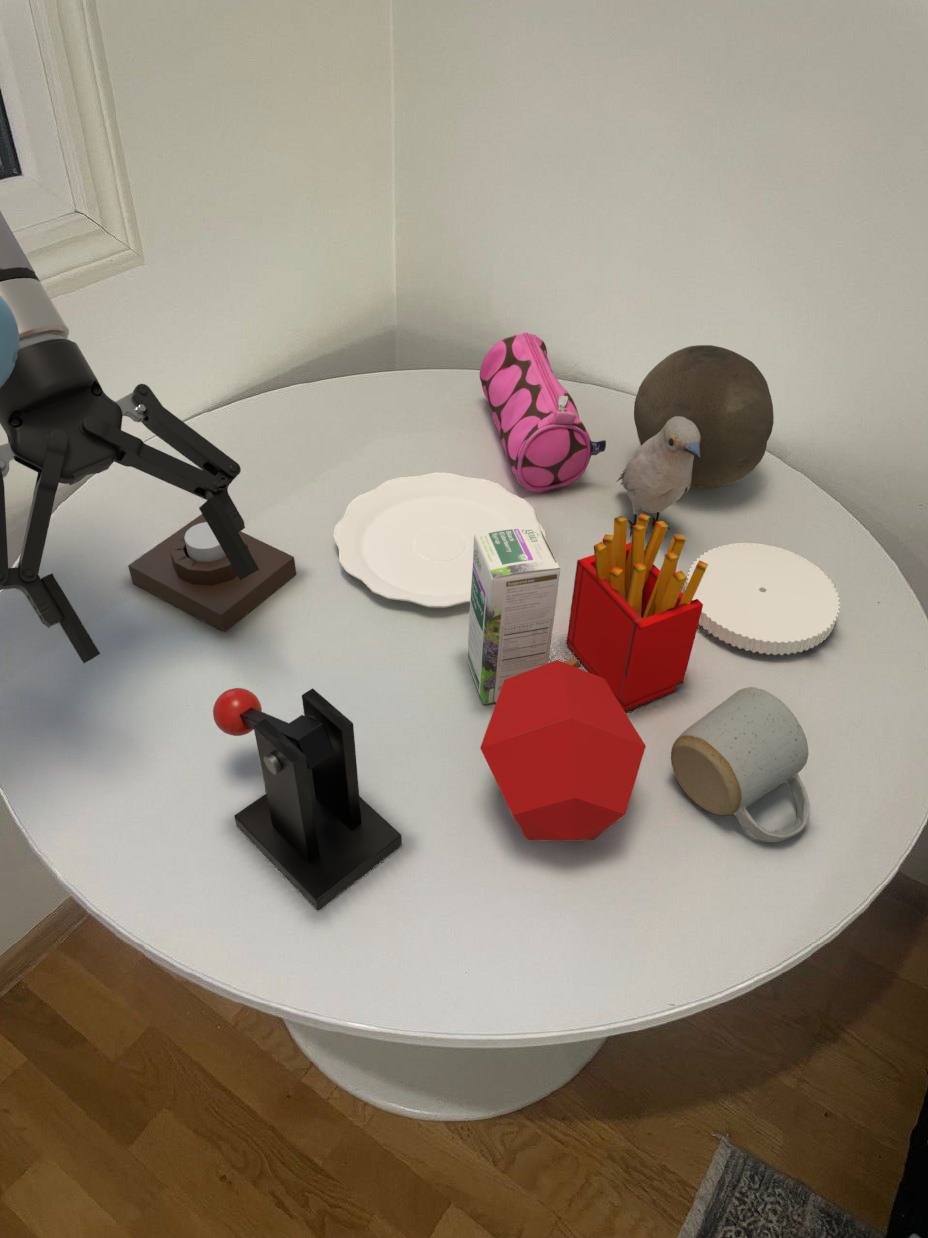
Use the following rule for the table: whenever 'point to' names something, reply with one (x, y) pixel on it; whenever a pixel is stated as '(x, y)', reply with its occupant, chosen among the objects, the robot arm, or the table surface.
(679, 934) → the table surface
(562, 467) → the pencil case
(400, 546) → the plate
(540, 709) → the red faceted polyhedron
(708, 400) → the brown round ball
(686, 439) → the bird
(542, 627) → the syrup box
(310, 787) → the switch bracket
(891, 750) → the table surface
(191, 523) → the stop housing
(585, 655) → the french fries container
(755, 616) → the plastic lid
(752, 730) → the ceramic mug
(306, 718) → the power lever
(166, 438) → the robot arm
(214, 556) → the stop button
